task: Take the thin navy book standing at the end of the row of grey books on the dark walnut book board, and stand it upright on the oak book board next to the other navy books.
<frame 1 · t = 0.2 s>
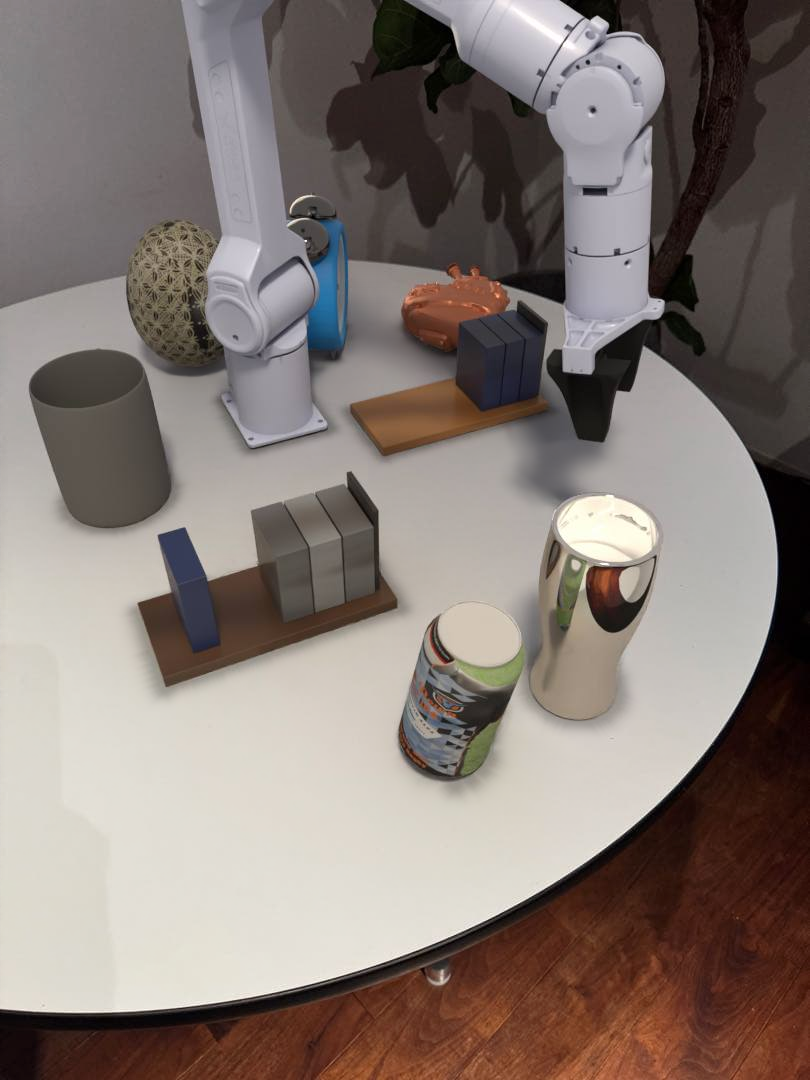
hand: (605, 413, 68), 10 cm above the table, tool pointing down, fingers open, 7 cm apart
walnut book board: (269, 609, 67), on the table
alarm clock: (317, 344, 96), on the table
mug: (120, 481, 78), on the table
beverage can: (453, 749, 58), on the table
oak book board: (449, 411, 87), on the table
decorative egg: (197, 361, 94), on the table
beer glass: (571, 687, 62), on the table
navy book: (196, 623, 64), point 1 cm above the table, touching walnut book board
heart: (454, 332, 99), on the table
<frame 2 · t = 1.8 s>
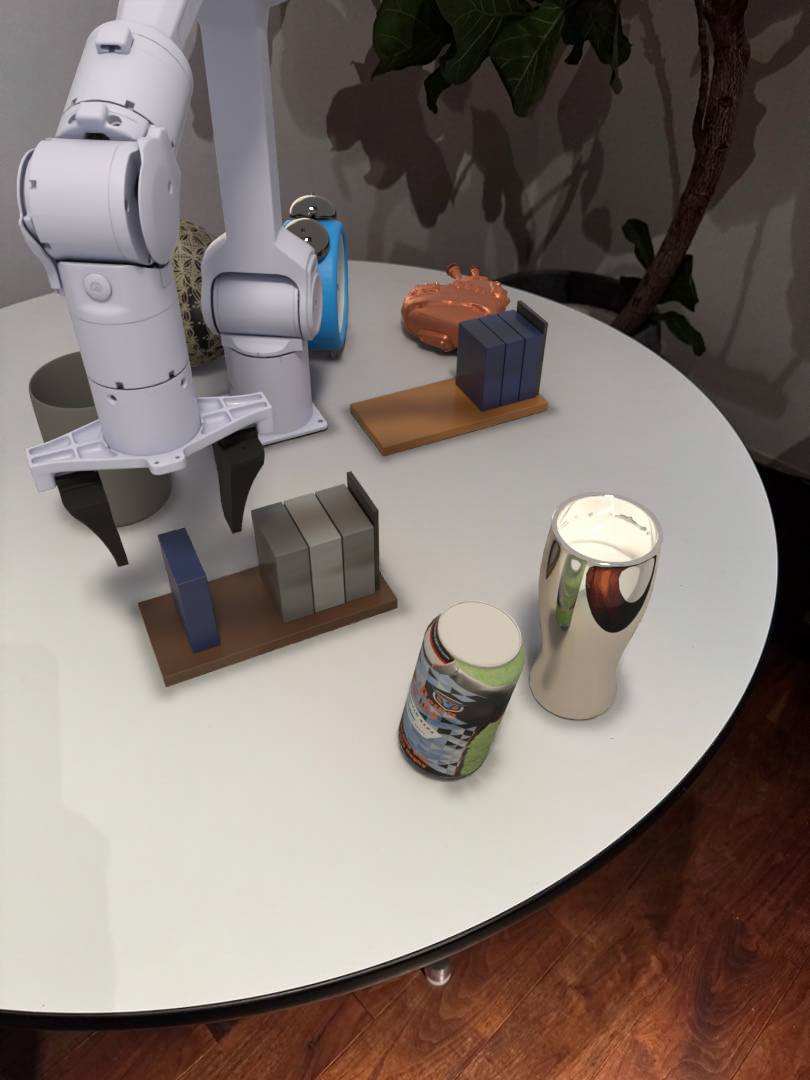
hand: (177, 539, 59), 9 cm above the table, tool pointing down, fingers open, 7 cm apart
nothing on the table moved.
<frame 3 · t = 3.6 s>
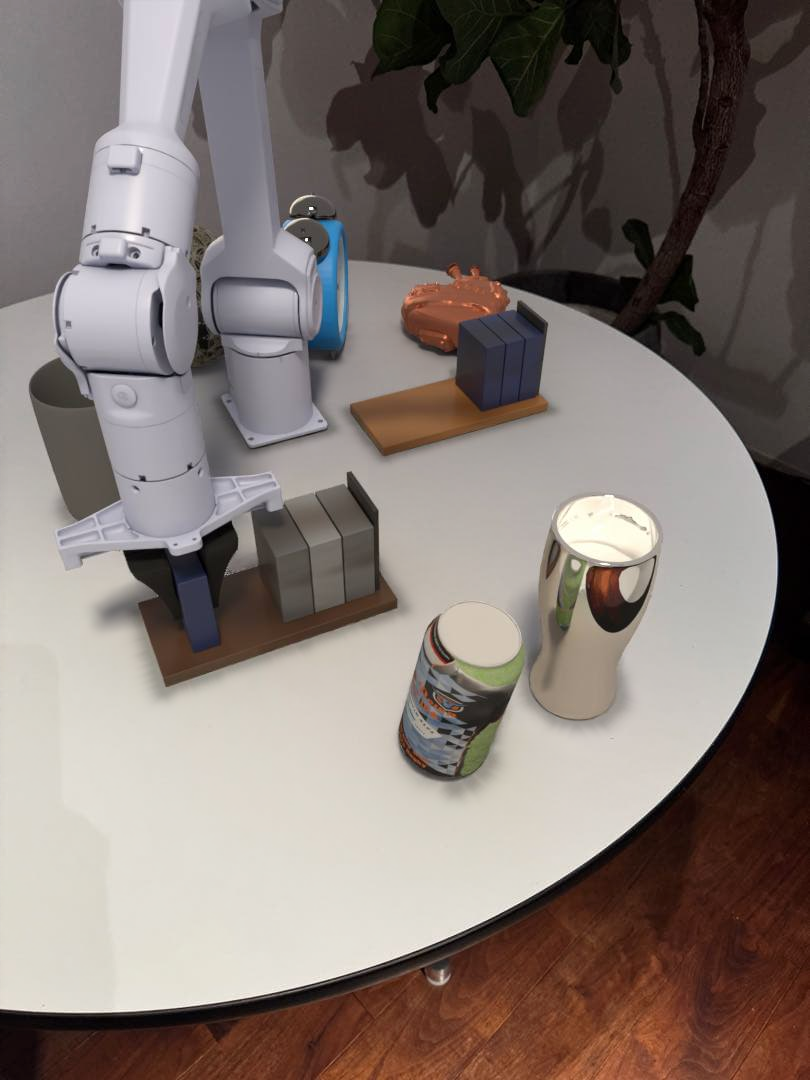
hand: (192, 604, 63), 3 cm above the table, tool pointing down, fingers closed on navy book, 2 cm apart
navy book: (197, 623, 64), point 1 cm above the table, touching gripper, walnut book board
everything else where it was.
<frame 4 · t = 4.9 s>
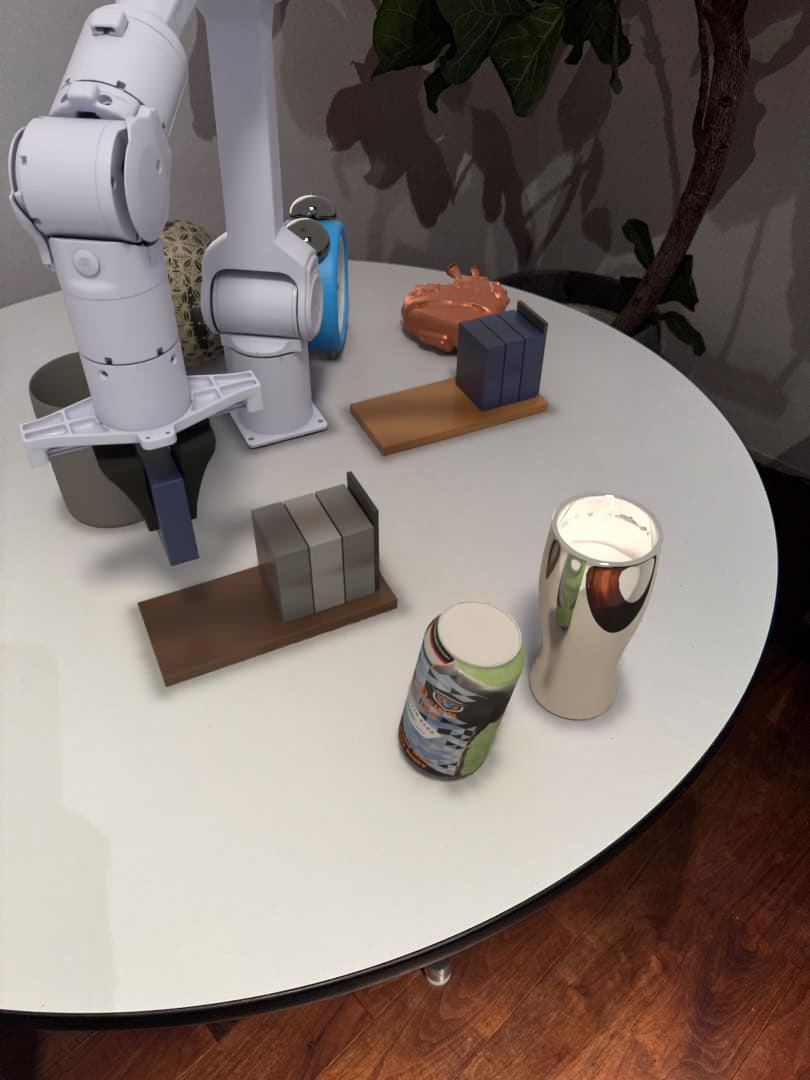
hand: (169, 516, 60), 10 cm above the table, tool pointing down, fingers closed on navy book
navy book: (175, 538, 61), point 8 cm above the table, touching gripper
everything else where it was.
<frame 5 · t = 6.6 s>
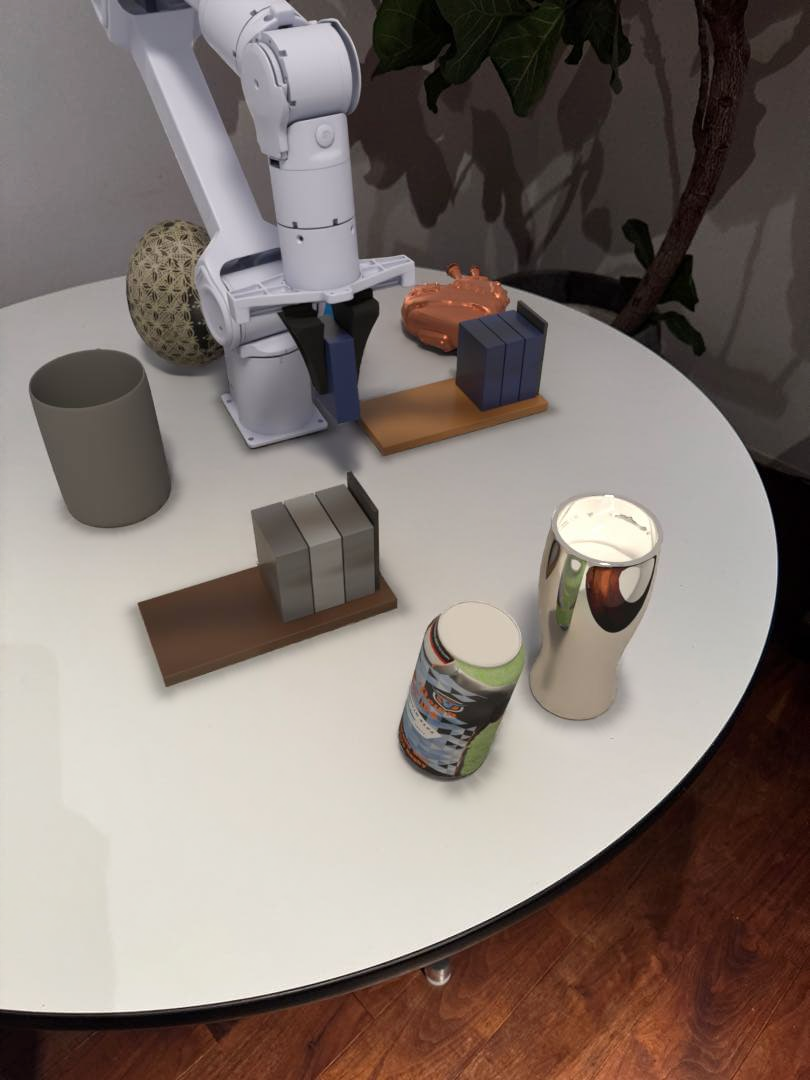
hand: (334, 386, 71), 10 cm above the table, tool pointing down, fingers closed on navy book
navy book: (337, 407, 73), point 8 cm above the table, tilted 6°, touching gripper
everything else where it was.
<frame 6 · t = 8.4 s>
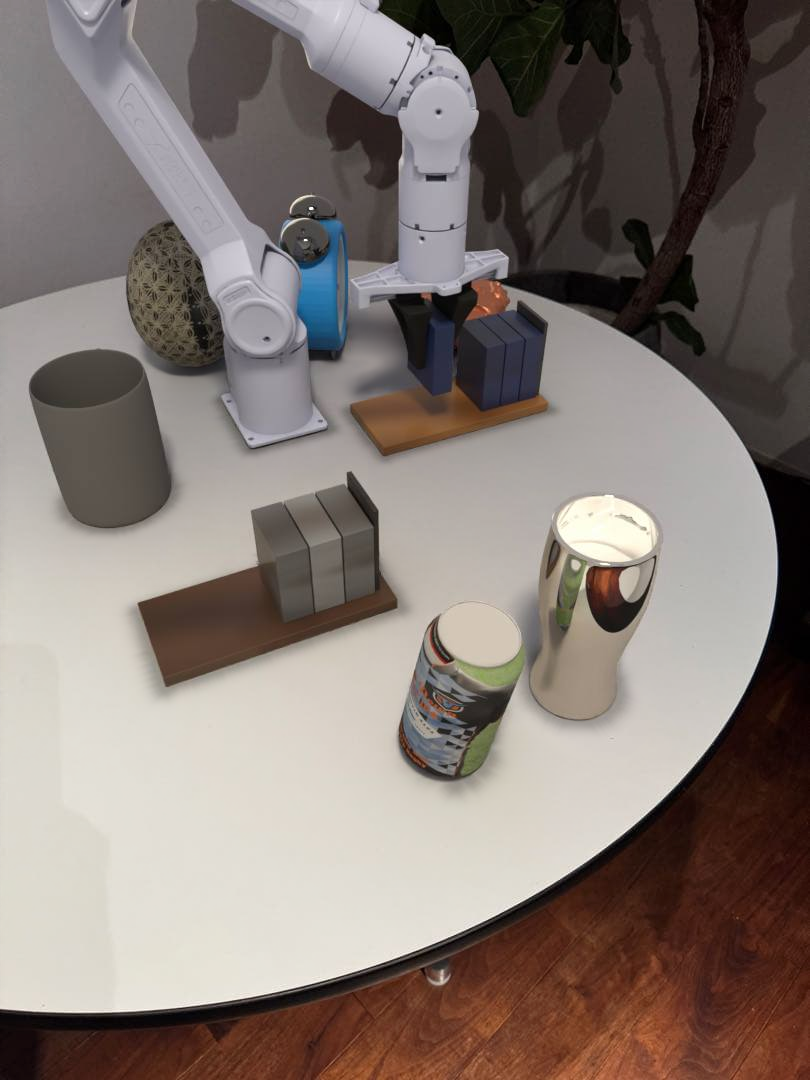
hand: (428, 361, 82), 6 cm above the table, tool pointing down, fingers closed on navy book
navy book: (428, 379, 83), point 4 cm above the table, touching gripper
everything else where it was.
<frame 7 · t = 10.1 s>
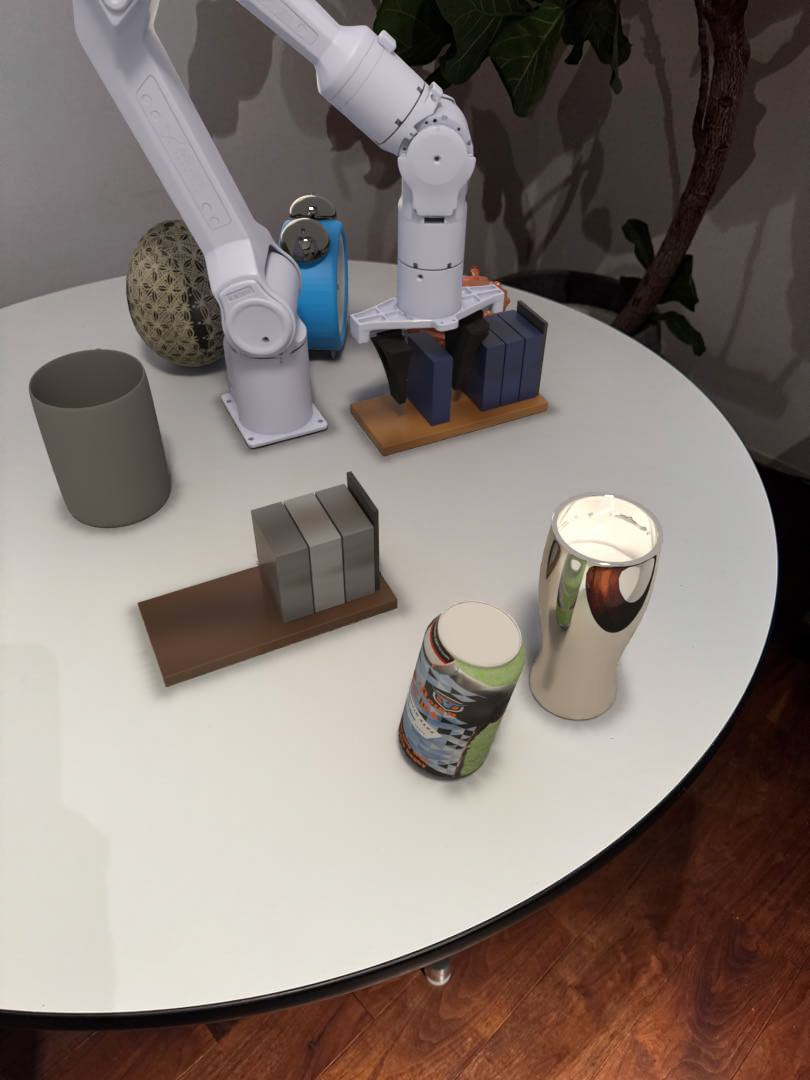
hand: (425, 391, 84), 3 cm above the table, tool pointing down, fingers open, 5 cm apart
navy book: (427, 409, 85), point 1 cm above the table, touching oak book board
everything else where it was.
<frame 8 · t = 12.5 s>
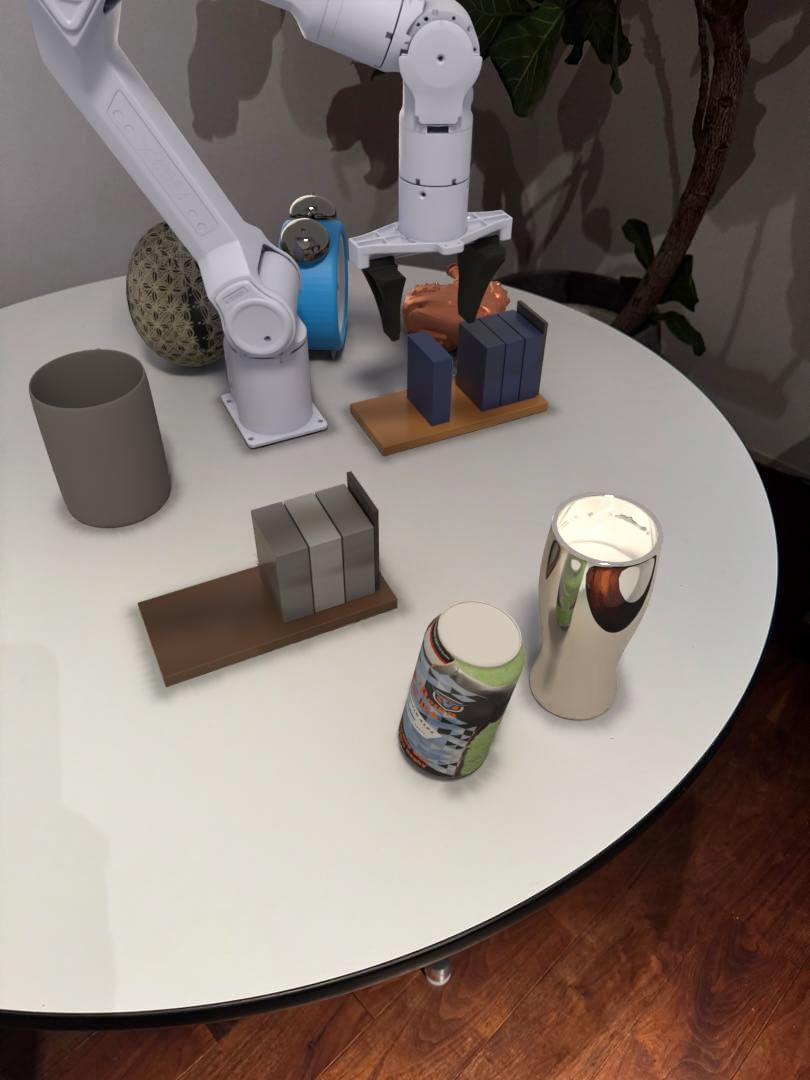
hand: (429, 326, 79), 10 cm above the table, tool pointing down, fingers open, 7 cm apart
nothing on the table moved.
at the end: navy book 0.2 cm from the target spot on the oak book board, point 1.0 cm above the oak book board's base; navy book tilted 0°; the gripper is holding nothing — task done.
